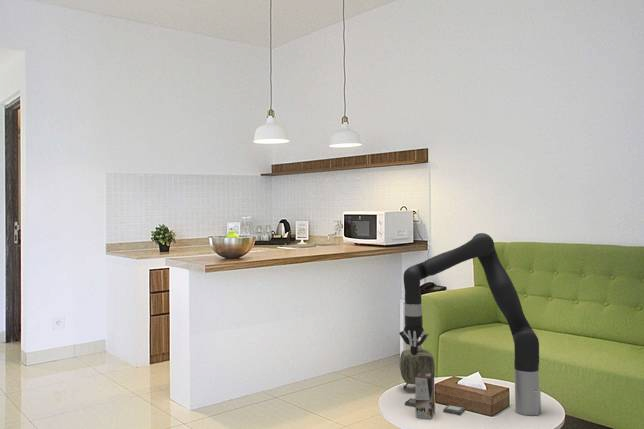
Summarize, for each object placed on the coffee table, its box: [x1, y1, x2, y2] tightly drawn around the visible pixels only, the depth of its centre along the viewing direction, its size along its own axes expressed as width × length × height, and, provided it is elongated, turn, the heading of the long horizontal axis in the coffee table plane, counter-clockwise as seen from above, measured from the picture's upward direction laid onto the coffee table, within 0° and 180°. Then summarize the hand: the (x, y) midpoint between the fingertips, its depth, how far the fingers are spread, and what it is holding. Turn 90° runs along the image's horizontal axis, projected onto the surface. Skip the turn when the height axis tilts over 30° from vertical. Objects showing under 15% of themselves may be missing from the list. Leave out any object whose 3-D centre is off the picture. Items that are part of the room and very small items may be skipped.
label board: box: [404, 397, 466, 416], centre depth 230 cm, size 24×6×1 cm, turn 57°
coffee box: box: [414, 372, 436, 420], centre depth 222 cm, size 9×6×16 cm
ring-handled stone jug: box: [399, 335, 436, 390], centre depth 253 cm, size 14×9×25 cm, turn 94°
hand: (414, 354), depth 234 cm, fingers closed
